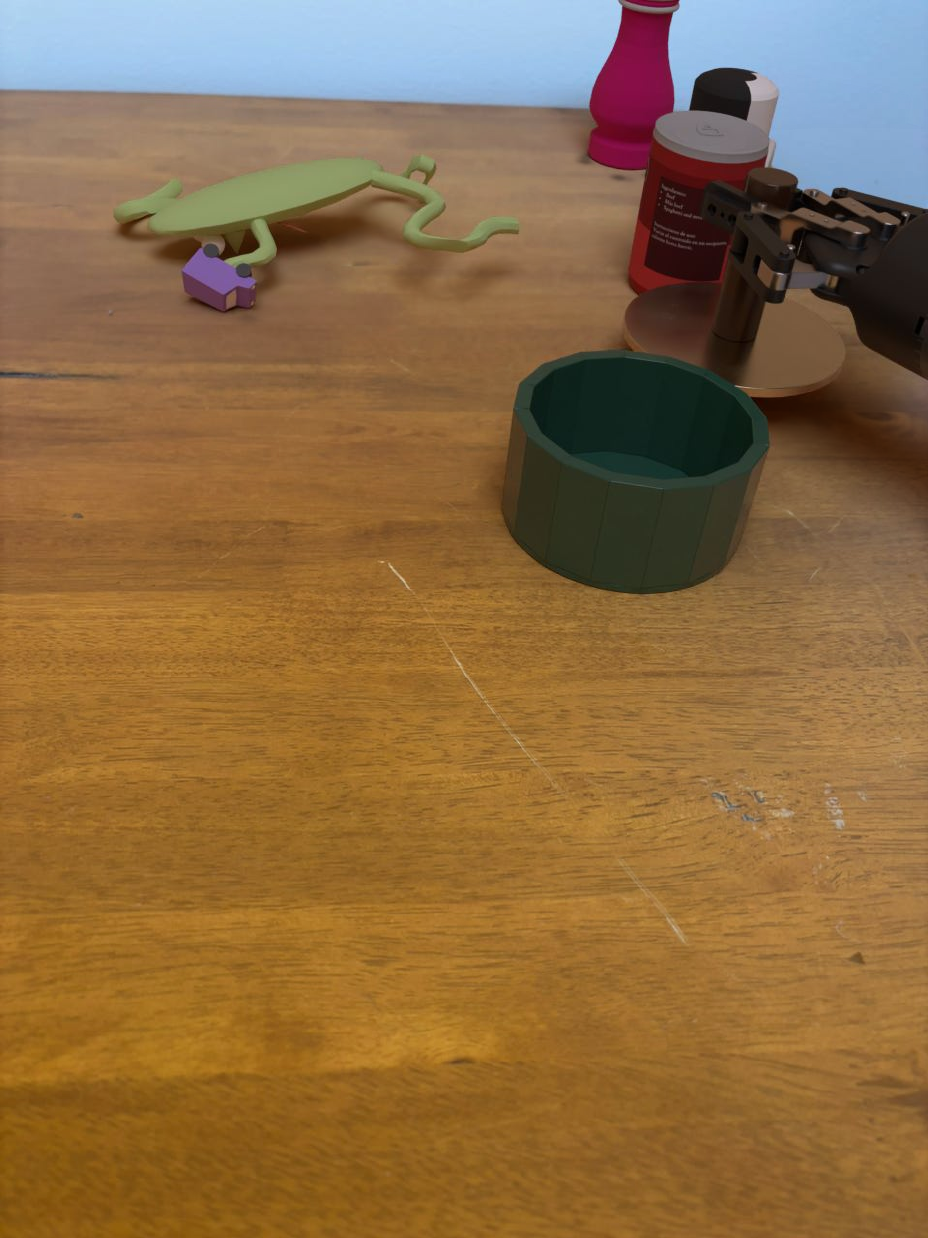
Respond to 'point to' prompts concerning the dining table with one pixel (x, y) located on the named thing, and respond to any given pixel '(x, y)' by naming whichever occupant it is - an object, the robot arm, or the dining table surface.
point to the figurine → (283, 217)
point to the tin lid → (740, 322)
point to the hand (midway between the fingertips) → (727, 193)
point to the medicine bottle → (738, 98)
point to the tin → (632, 469)
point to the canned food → (689, 196)
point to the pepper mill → (633, 85)
